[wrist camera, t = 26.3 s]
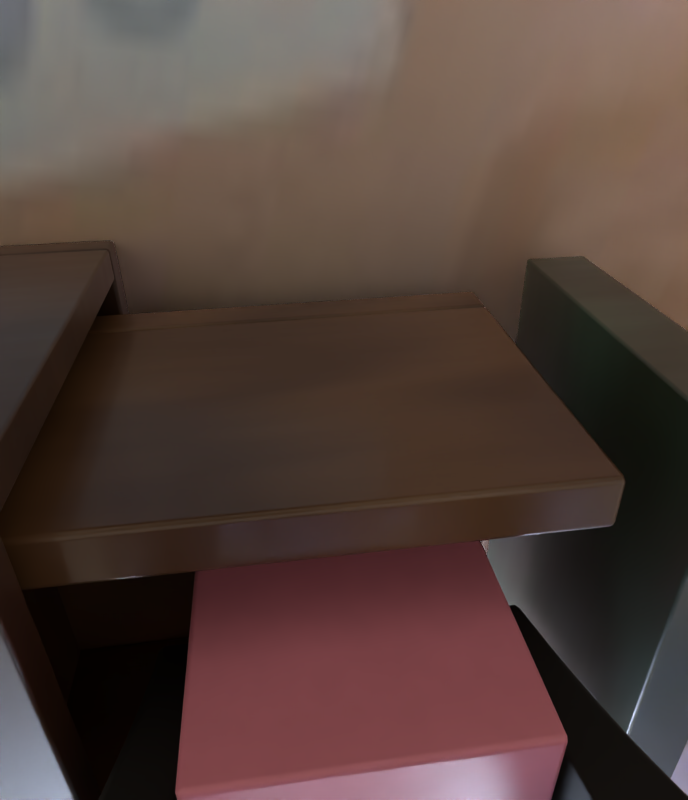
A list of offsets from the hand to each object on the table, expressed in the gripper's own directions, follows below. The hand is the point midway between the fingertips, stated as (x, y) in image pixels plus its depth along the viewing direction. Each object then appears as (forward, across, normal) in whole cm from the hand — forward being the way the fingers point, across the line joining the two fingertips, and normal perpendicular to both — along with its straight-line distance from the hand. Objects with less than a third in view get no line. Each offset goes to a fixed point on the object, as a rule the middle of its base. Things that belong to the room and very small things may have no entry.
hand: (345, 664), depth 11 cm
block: (+1, 0, 0) cm, 1 cm away
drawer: (+5, -1, 0) cm, 5 cm away
